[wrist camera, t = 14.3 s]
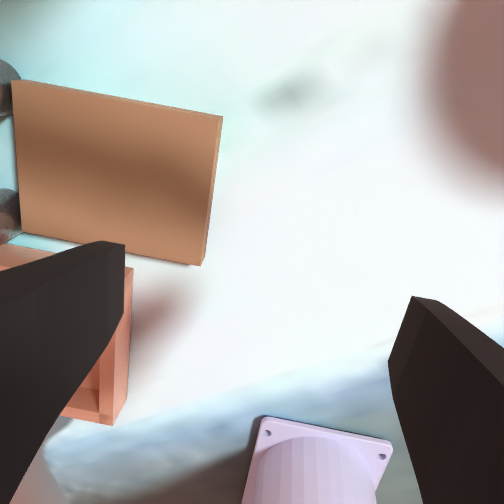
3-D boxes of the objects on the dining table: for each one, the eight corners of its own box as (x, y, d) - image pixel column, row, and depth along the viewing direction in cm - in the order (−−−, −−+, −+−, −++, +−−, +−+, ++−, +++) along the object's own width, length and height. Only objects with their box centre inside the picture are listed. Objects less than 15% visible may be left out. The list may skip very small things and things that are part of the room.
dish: (126, 398, 26) (112, 426, 24) (14, 375, 26) (-9, 401, 24) (133, 268, 22) (117, 288, 20) (1, 242, 22) (-28, 260, 20)
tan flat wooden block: (206, 252, 22) (200, 266, 20) (40, 220, 22) (21, 231, 20) (225, 115, 19) (219, 119, 17) (32, 79, 19) (10, 80, 18)
